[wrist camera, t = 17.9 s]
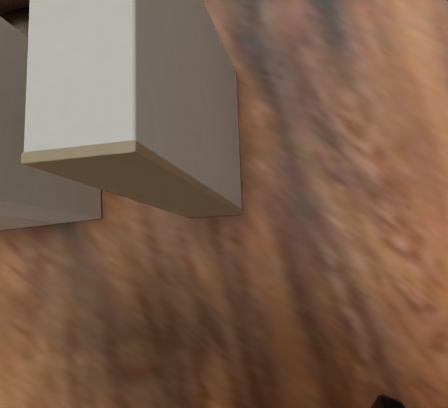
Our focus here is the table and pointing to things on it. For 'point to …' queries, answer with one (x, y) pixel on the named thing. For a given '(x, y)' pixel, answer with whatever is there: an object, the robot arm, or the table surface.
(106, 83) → the book
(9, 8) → the sunglasses case
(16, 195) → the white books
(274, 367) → the table surface
